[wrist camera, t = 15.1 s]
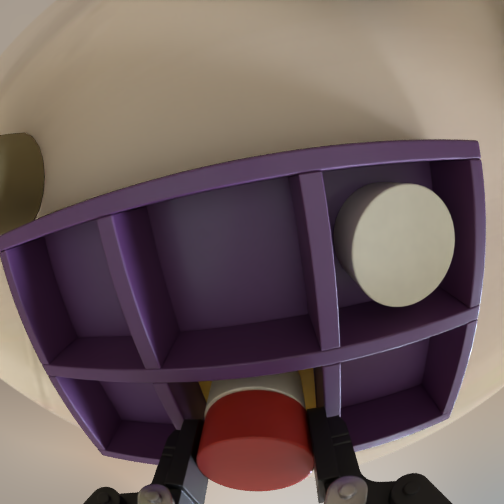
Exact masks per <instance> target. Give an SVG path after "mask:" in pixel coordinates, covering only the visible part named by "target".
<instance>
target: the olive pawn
mask: <svg viewBox="0 0 504 504" xmlns="http://www.w3.org/2000/svg"><path fill="white" fill-rule="evenodd" d="M43 185H44V168H43V159H42V155H41V152H40V148H39V146H38V144H37V143H36V141H35V140H34V138H33V137H32V136H30V135H28V134H26V133H15V134H5V135H0V235H2V234H4V233H7V232H9V231H11V230H13V229H15V228H18V227H20V226H22V225H24V224H27V223H29V222H31V221H33V220H34V218H35V216H36V214H37V213H38V211H39V207H40V203H41V199H42V195H43Z"/></svg>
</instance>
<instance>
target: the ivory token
mask: <svg viewBox="0 0 504 504" xmlns="http://www.w3.org/2000/svg"><path fill="white" fill-rule="evenodd" d="M333 238H334V247H335V252H336V255H337V258H338V260H339V262H340V264H341V265H342V267H343V268H344V270H345V271H346V272H347V273H348V274H349V275H350V276H351V277H352V279H353V280H354V281H355V282H356V283H357V284H358V285H359V286H360V288H361V289H362V290H363V291H364V292H365V293H366V294H367V295H368V296H369V297H370V298H371V299H373V300H374V301H376V302H378V303H380V304H382V305H386V306H390V307H403V306H408V305H412V304H414V303H417V302H419V301H421V300H422V299H424V298H425V297H427V296H428V295H429V294H430V293H432V292H433V291H434V290H435V289H436V288H437V287H438V285H439V284H440V283H441V281H442V280H443V278H444V277H445V275H446V273H447V271H448V269H449V266H450V264H451V261H452V257H453V253H454V246H455V233H454V226H453V222H452V218H451V215H450V213H449V211H448V209H447V207H446V205H445V204H444V202H443V201H442V200H441V199H440V197H439V196H437V195H436V194H435V193H434V192H433V191H431V190H430V189H428V188H426V187H424V186H421V185H418V184H412V183H390V182H377V183H372V184H368V185H366V186H363V187H361V188H360V189H358V190H357V191H355V192H354V193H353V194H352V195H351V196H350V197H349V198H348V199H347V200H346V201H345V203H344V204H343V206H342V207H341V209H340V211H339V213H338V215H337V218H336V222H335V226H334V236H333Z"/></svg>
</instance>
